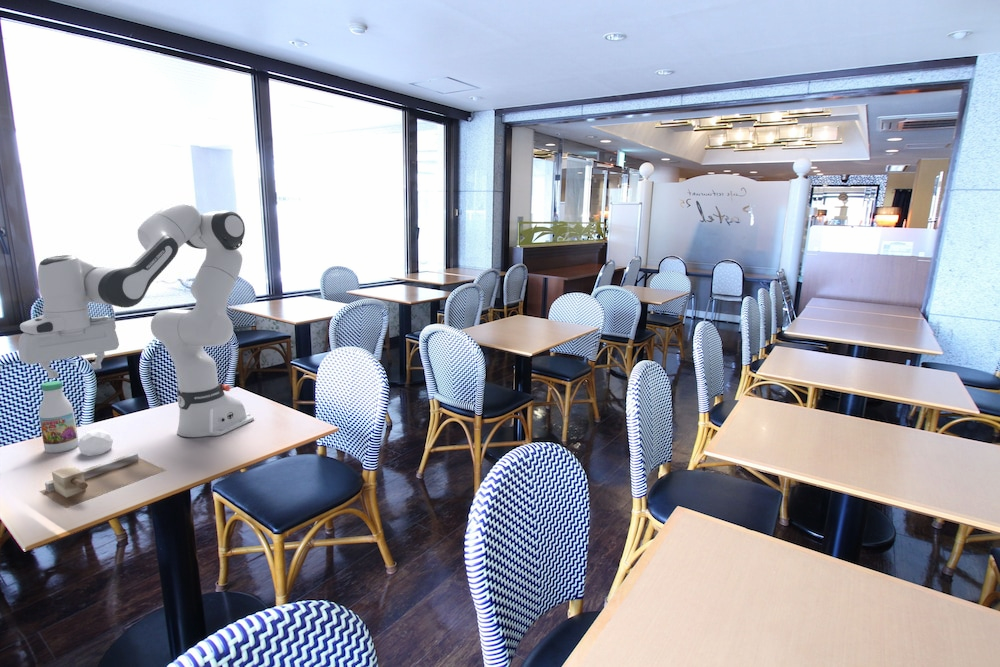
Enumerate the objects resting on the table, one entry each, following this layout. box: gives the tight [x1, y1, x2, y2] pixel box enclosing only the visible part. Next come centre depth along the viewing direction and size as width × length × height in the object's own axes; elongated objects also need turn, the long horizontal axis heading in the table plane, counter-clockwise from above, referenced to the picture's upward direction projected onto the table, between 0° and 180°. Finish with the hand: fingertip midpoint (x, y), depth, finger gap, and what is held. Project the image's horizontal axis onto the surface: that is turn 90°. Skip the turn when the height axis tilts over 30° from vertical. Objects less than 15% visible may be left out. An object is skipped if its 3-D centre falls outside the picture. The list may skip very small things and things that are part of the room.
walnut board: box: [39, 452, 167, 509], centre depth 132 cm, size 22×14×4 cm, turn 150°
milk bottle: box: [38, 380, 79, 454], centre depth 151 cm, size 8×8×20 cm
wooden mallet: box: [51, 465, 88, 498], centre depth 125 cm, size 4×11×5 cm, turn 60°
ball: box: [77, 428, 114, 457], centre depth 148 cm, size 8×8×8 cm
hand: (75, 373), depth 135 cm, fingers open, 8 cm apart
